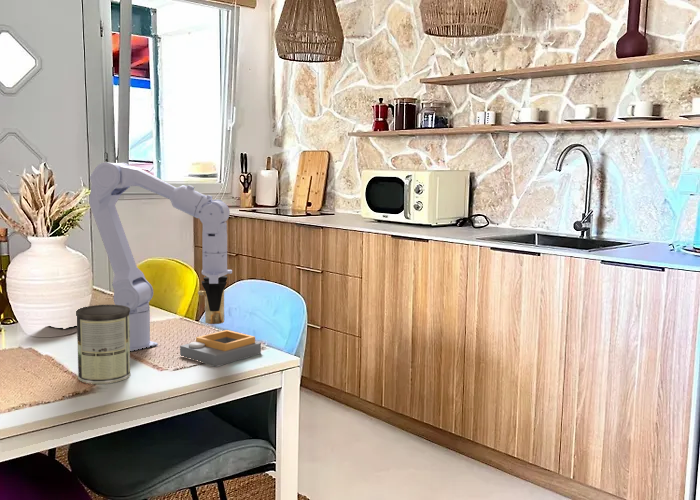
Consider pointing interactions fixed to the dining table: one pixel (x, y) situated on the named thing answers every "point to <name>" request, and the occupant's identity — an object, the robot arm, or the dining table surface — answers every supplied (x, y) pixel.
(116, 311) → the coffee can
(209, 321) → the spout can
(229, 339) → the grey base with frame
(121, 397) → the dining table surface
